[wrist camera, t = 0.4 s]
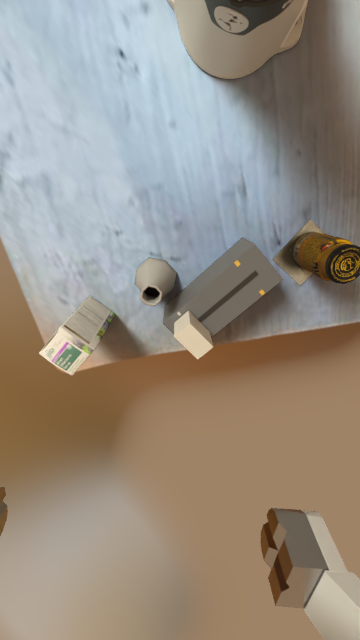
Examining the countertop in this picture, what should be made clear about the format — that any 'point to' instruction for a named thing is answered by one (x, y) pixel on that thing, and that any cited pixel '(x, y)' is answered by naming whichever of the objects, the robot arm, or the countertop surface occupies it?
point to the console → (224, 288)
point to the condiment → (319, 256)
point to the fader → (192, 335)
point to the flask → (154, 280)
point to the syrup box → (78, 336)
